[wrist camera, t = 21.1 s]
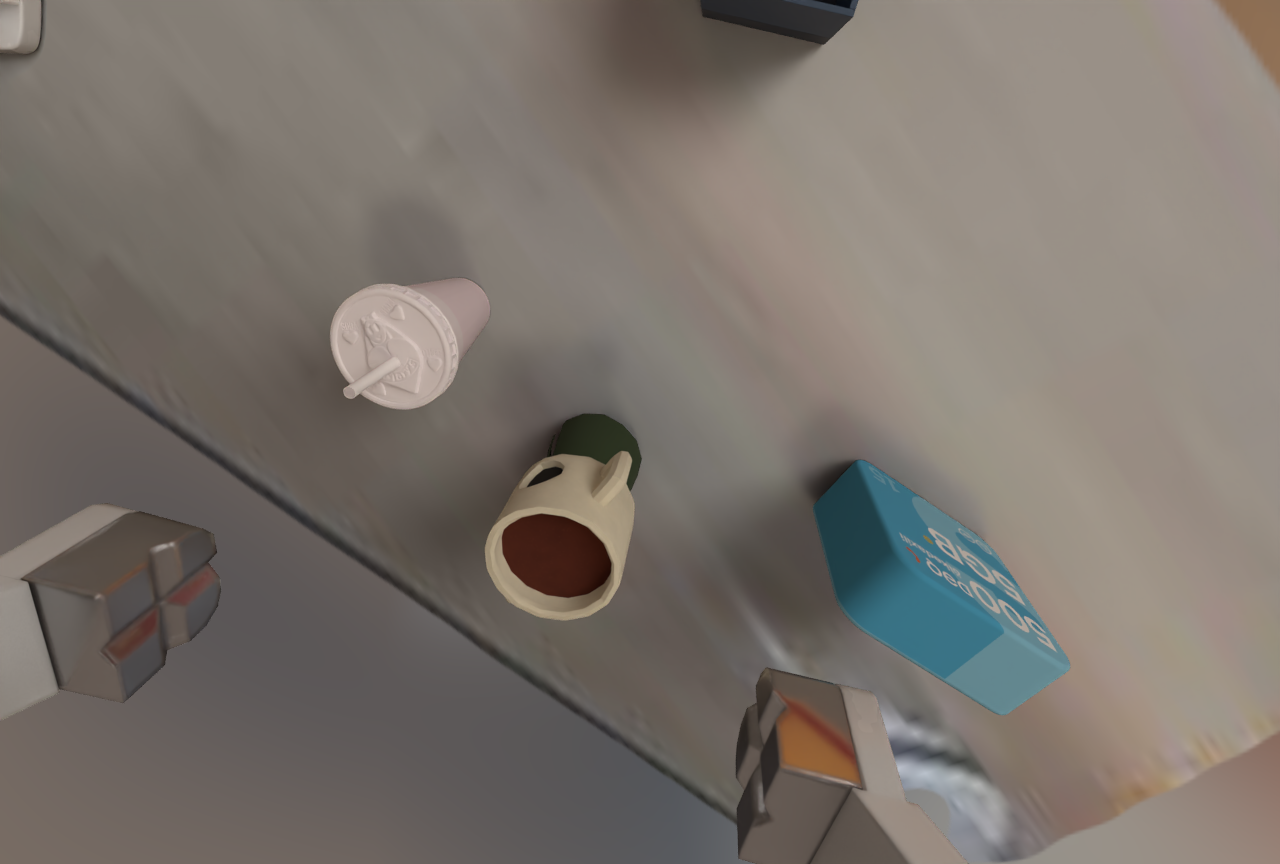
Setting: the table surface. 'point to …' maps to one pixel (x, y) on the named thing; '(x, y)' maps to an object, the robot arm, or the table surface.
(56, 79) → the table surface
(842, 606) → the data package
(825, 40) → the bin
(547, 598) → the character mug
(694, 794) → the table surface
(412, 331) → the smoothie
